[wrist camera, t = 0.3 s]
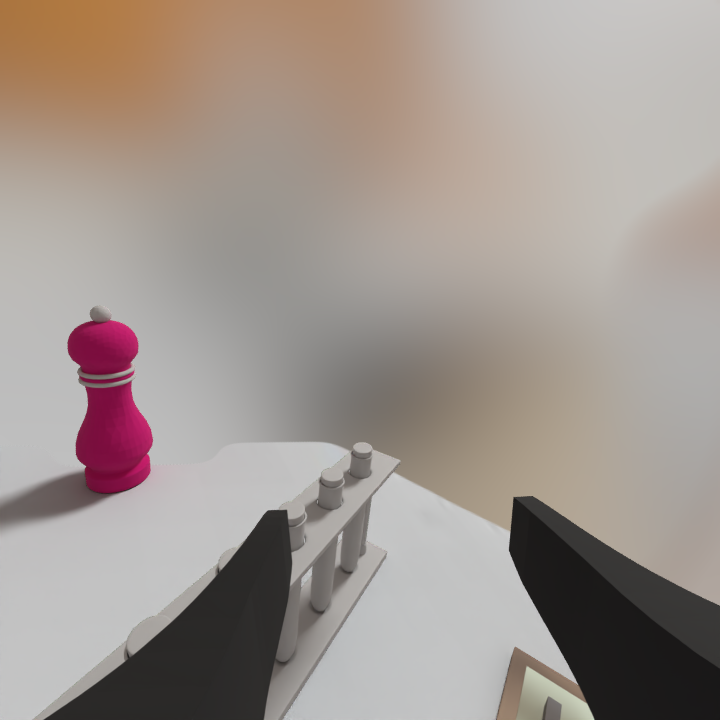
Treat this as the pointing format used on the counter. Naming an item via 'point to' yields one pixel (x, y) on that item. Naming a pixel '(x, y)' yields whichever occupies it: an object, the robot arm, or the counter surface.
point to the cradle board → (539, 693)
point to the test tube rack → (295, 578)
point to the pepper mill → (109, 405)
